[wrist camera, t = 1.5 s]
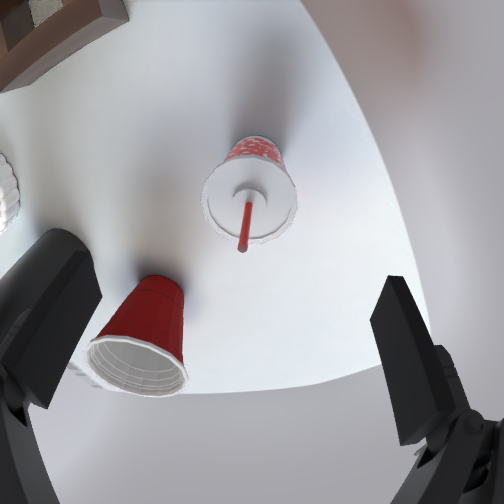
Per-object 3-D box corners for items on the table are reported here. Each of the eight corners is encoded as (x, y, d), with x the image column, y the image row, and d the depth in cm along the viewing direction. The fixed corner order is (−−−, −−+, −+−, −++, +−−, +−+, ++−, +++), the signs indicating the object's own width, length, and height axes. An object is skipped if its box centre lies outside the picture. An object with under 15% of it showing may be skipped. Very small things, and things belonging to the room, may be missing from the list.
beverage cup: (297, 182, 28) (316, 282, 16) (233, 198, 29) (209, 303, 18) (279, 118, 25) (287, 175, 13) (211, 139, 26) (161, 211, 14)
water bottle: (25, 244, 34) (-72, 374, 15) (60, 207, 31) (-68, 362, 12) (72, 297, 39) (0, 436, 20) (114, 271, 35) (29, 443, 16)
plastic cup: (185, 335, 41) (166, 412, 31) (113, 299, 38) (77, 372, 28) (222, 285, 35) (206, 374, 26) (136, 241, 33) (90, 321, 23)
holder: (5, -4, 15) (-25, -3, 11) (99, -74, 13) (73, -87, 9) (29, 85, 22) (-3, 94, 18) (129, 20, 20) (102, 16, 16)
